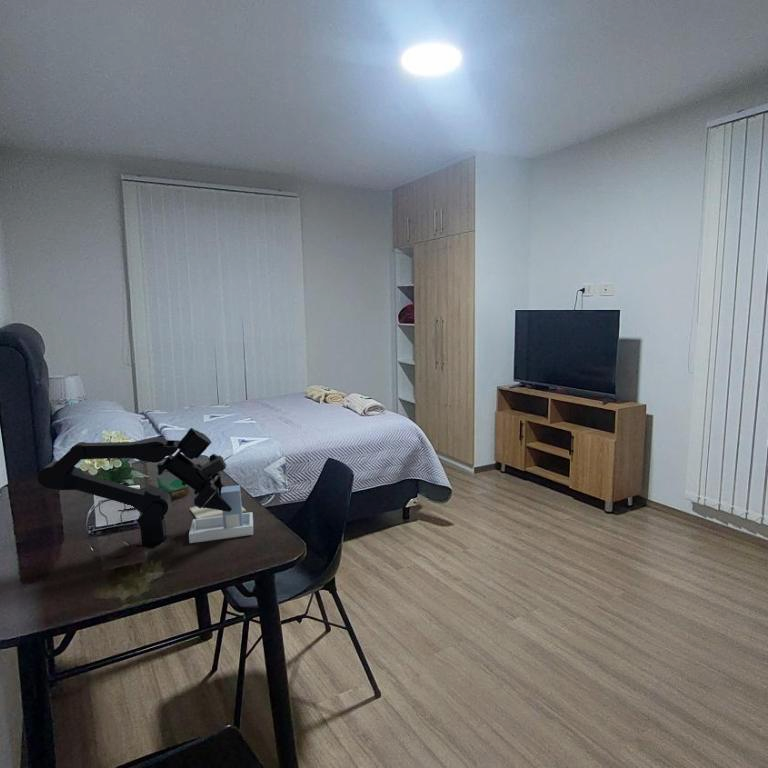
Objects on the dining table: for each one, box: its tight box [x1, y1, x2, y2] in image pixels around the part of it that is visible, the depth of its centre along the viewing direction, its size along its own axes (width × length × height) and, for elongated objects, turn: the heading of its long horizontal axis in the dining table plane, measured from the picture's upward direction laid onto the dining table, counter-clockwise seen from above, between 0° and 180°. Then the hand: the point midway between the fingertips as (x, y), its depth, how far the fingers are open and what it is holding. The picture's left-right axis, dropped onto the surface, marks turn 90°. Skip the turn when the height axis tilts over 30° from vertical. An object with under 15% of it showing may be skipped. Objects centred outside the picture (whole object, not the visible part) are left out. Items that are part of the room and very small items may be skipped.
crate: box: [188, 511, 254, 544], centre depth 147 cm, size 17×11×3 cm, turn 104°
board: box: [189, 505, 248, 519], centre depth 163 cm, size 14×14×1 cm
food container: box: [154, 470, 190, 501], centre depth 178 cm, size 12×6×10 cm, turn 143°
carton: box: [221, 484, 243, 528], centre depth 147 cm, size 5×5×12 cm
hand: (231, 504), depth 147 cm, fingers open, 9 cm apart
